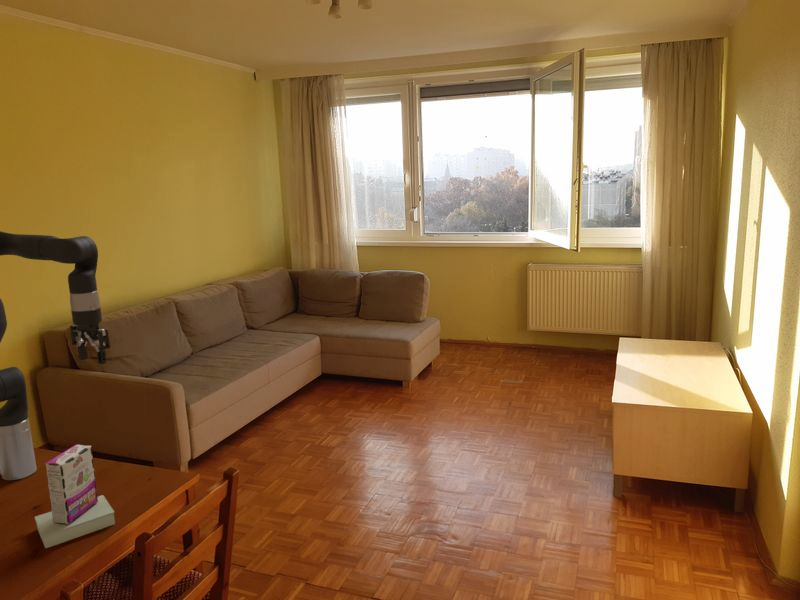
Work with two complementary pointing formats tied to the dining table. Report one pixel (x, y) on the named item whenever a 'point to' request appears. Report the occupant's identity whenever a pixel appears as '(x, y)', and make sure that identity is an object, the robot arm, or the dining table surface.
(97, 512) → the keepsake box
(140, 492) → the dining table surface
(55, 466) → the candy bar box
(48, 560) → the dining table surface
